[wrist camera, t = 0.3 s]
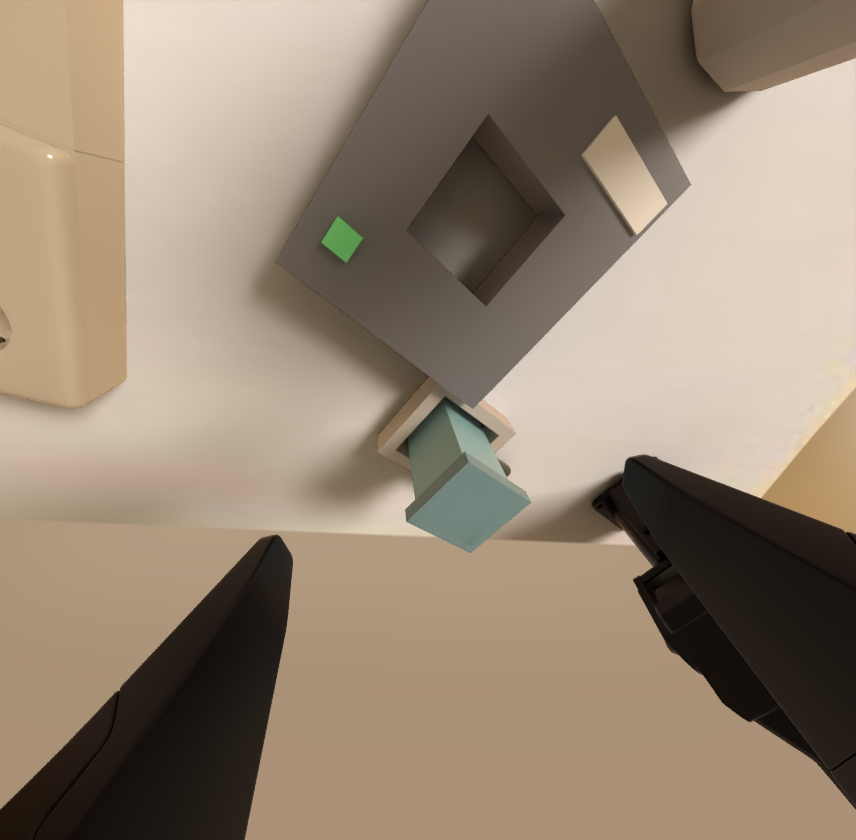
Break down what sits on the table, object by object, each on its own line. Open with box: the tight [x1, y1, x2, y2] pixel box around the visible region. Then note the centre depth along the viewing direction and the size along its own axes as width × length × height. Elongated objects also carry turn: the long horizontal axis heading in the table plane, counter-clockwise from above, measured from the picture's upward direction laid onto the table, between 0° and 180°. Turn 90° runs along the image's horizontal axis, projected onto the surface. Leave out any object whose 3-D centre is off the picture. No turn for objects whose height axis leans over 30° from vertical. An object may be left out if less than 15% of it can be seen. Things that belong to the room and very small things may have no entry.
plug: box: [405, 397, 531, 553], centre depth 20 cm, size 4×4×8 cm
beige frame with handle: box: [378, 377, 516, 477], centre depth 23 cm, size 10×6×2 cm, turn 50°
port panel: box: [276, 0, 691, 409], centre depth 15 cm, size 12×14×3 cm
